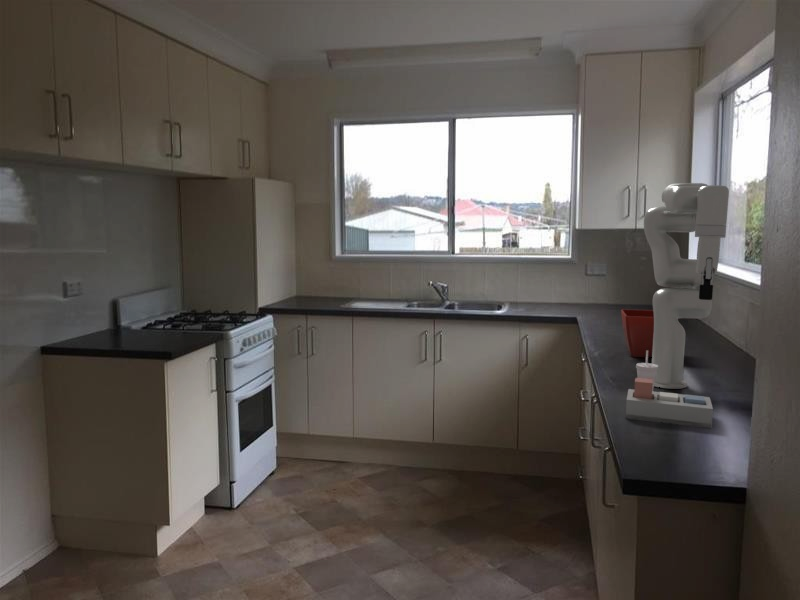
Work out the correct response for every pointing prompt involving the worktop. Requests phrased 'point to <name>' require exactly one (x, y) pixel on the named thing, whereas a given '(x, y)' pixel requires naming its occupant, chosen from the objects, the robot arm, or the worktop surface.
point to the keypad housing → (669, 410)
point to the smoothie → (647, 370)
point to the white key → (668, 397)
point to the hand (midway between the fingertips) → (705, 299)
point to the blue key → (695, 399)
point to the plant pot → (638, 331)
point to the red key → (643, 388)
